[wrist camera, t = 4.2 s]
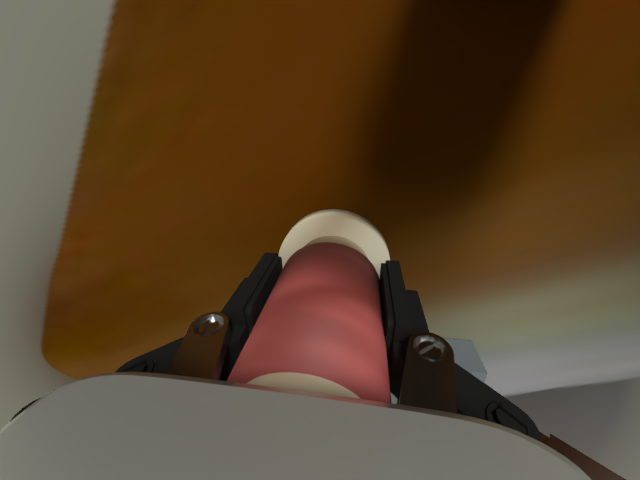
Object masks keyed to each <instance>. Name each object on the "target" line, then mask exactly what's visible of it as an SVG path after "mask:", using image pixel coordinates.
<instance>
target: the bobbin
mask: <svg viewBox="0 0 640 480" xmlns="http://www.w3.org/2000/svg"><path fill="white" fill-rule="evenodd" d="M279 257H281V258H282V267H283V270H282V272H281V274H280V276H279V278H278V280H277V282H276V284H275V286H274V288H273V290H272V292H271V294H270V296H269V298H268V300H267V302H266V304H265V306H264V307H263V309H262V311H261V313H260V315H259V317H258V319H257V321H256V323H255V325H254V327H253V329H252V331H251V333H250V335H249V337H248V339H247V341H246V343H245V345H244V347H243V349H242V351H241V353H240V355H239V357H238V359H237V361H236V363H235V365H234V367H233V369H232V371H231V373H230V375H229V377H228V379H227V381H229V382H236V383H244V384H252V385H260V386H267V387H275V388H283V389H290V390H298V391H305V392H313V393H320V394H328V395H335V396H342V397H349V398H357V399H364V400H371V401H378V402H386V403H391V392H390V382H389V371H388V361H387V351H386V343H385V332H384V322H383V311H382V300H381V290H380V280H379V278H380V269H381V263H386V260H390V256H389V251H388V247H387V243H386V241H385V239H384V237H383V235H382V234H381V232H380V231H379V230H378V229H377V227H376V226H375V225H374V224H372V223H371V222H370V221H369V220H367V219H366V218H364V217H362V216H360V215H358V214H356V213H353V212H351V211H346V210H340V209H326V210H320V211H316V212H313V213H311V214H309V215H307V216H305V217H303V218H302V219H300V220H299V221H298V222H297V223H296V224H295V225H294V226H293V227H292V228H291V230H290V231H289V233H288V234H287V236H286V238H285V239H284V241H283V243H282V245H281V248H280V251H279Z"/></svg>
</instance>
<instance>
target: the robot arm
mask: <svg viewBox="0 0 640 480" xmlns="http://www.w3.org/2000/svg"><path fill="white" fill-rule="evenodd" d="M282 270H283V267H282V258H281V257H279V256H278V254H277V253H265V254H264V255H263V256H262V258H261V259H260V261H259V262H258V264H257V265H256V267H255V268H254V270H253V271H252V273H251V274H250V276H249V277H248V278H245V279H244V280H243V281H242V282H241V284H240V285H239V287H238V288H237V290H236V291H235V292H234V294H233V295H232V297H231V298H230V300H229V301H228V303H227V304H226V305H225V307H224V308H223V310H222V311H221V313H220V312H211V313H206V314H204V315H201V316H200V317H198V318H196V319H195V320H194V321H193V322H192V323H191V324H190V326H189V328H188V330H187V332H186V334H185V336H184V337H183V338H180V339H178V340H176V341H173V342H171V343H169V344H166V345H164V346H162V347H160V348H157V349H155V350H153V351H150V352H148V353H146V354H144V355H141V356H139V357H137V358H134V359H132V360H130V361H129V362H127V363H125V364H124V365H123V366H121V367H120V368H119V369H118V370H117V371H116V372H115V373H106V374H99V375H94V376H90V377H85V378H81V379H78V380H75V381H72V382H69V383H66V384H64V385H62V386H60V387H58V388H56V389H54V390H52V391H51V392H49V393H47V394H46V395H44V396H43V397H41V398H39V399H36V400H34V401H32V402H31V403H29V404H28V405H26V406H25V407H23V408H22V409H21V410H20V411H19V412H18V413H17V414H15V415H14V417H13V418H12V419H11V421H10V422H9V423H8V424H7V425H6V426H4V427H3V428H2V429H1V430H0V480H626V479H624V478H622V477H621V476H619V475H617V474H616V473H614V472H612V471H611V470H609V469H607V468H606V467H604V466H603V465H601V464H599V463H598V462H596V461H594V460H593V459H591V458H589V457H588V456H586V455H584V454H583V453H581V452H580V451H578V450H576V449H575V448H573V447H571V446H570V445H568V444H567V443H565V442H563V441H562V440H560V439H558V438H557V437H555V436H553V435H552V434H550V435H549V437H547V436H546V435H544V434H542V433H541V432H539V430H538V429H537V427H536V426H535V423H534V422H533V421H532V420H531V418H530V417H529V416H528V415H527V414H526V413H525V412H523V411H522V410H521V409H519V407H517V406H516V405H514V404H513V403H511V402H510V401H509V400H507V399H506V398H504V397H503V396H502V395H500V394H499V393H497V392H496V391H495V390H493V389H492V388H490V387H489V386H487V385H486V384H485V383H483V382H482V381H480V380H479V379H478V378H476V377H475V376H473V375H472V374H471V373H469V372H468V371H466V370H465V369H463V368H462V367H461V366H459V365H458V364H456V363H455V362H454V352H453V349H452V347H451V346H450V344H449V343H448V342H447V341H446V340H445V339H443V338H442V337H440V336H438V335H436V334H433V333H429V330H428V326H427V323H426V319H425V316H424V313H423V309H422V306H421V302H420V299H419V296H418V293H417V291H414V290H405V286H404V281H403V277H402V273H401V268H400V264H399V261H392V260H386V263H381V269H380V278H379V280H380V290H381V300H382V311H383V322H384V332H385V343H386V351H387V361H388V371H389V382H390V392H391V393H392V394H393V395H394V396H395V397H396V398H397V404H393V403H386V402H378V401H371V400H364V399H357V398H349V397H342V396H335V395H328V394H320V393H313V392H305V391H298V390H290V389H283V388H275V387H267V386H260V385H252V384H244V383H236V382H229V381H227V379H228V377H229V375H230V373H231V371H232V369H233V367H234V365H235V363H236V361H237V359H238V357H239V355H240V353H241V351H242V349H243V347H244V345H245V343H246V341H247V339H248V337H249V335H250V333H251V331H252V329H253V327H254V325H255V323H256V321H257V319H258V317H259V315H260V313H261V311H262V309H263V307H264V306H265V304H266V302H267V300H268V298H269V296H270V294H271V292H272V290H273V288H274V286H275V284H276V282H277V280H278V278H279V276H280V274H281V272H282Z"/></svg>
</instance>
